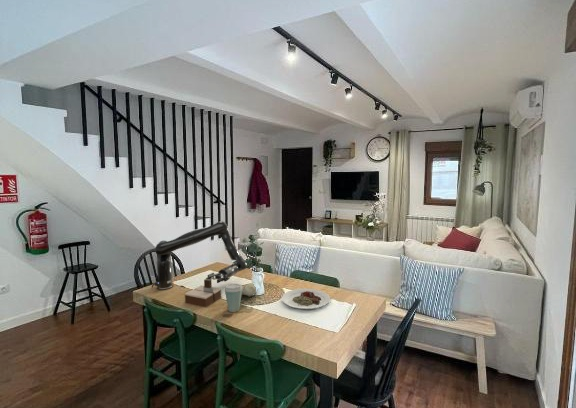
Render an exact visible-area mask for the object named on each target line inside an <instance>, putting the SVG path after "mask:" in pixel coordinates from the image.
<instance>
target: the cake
mask: <svg viewBox="0 0 576 408" xmlns="http://www.w3.org/2000/svg"><path fill="white" fill-rule="evenodd" d="M203 287H204V285H202V284H201V285H199V286H197V287H195V288H194V289H191V290H189V291H187V292H186V293H185V292H184V303H185V304H190V305H194V306H199V307H203V308H207V307H208V306H210V305H211V304H213V303H215V302H216V301H218V300H220V299H221V298H222V288H220V287H213V286H212V287H211V288H213V293H208V292H204V290H203Z"/></svg>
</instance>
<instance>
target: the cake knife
mask: <svg viewBox="0 0 576 408" xmlns="http://www.w3.org/2000/svg"><path fill="white" fill-rule="evenodd" d="M203 286H204V287H203V290H204V292H208V293H213V288H211V287H213V285H212V279H206V278H205V279H203Z"/></svg>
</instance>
